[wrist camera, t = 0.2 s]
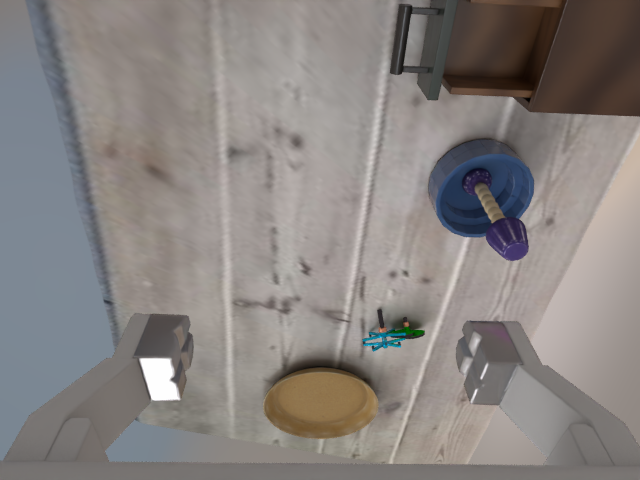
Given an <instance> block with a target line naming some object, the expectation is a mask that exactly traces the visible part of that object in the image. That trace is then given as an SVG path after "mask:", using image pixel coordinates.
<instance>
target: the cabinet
mask: <svg viewBox="0 0 640 480" xmlns="http://www.w3.org/2000/svg"><path fill="white" fill-rule="evenodd" d="M513 98H514V99H515V100H517V101H518V102H519V103H520V104H521V105H522V106H523V107H525V108H526V109H527V110H528V111H529V112H543V113H568V114H592V115H617V116H640V0H563V2H562V5H561V8H560V12H559V15H558V18H557V21H556V24H555V27H554V30H553V33H552V36H551V39H550V42H549V45H548V48H547V51H546V54H545V57H544V60H543V63H542V66H541V69H540V73H539V76H538V79H537V82H536V85H535V88H534V91H533V94H532V97H531V98H530V97H513Z"/></svg>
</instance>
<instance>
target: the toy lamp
mask: <svg viewBox="0 0 640 480" xmlns="http://www.w3.org/2000/svg"><path fill="white" fill-rule="evenodd" d="M491 184H492V176H491V174H490V172H489V171H488V170H486V169H482V168H479V169H474V170H471V171H469V172H468V173H467V174H466V175H465V176H464V178H463V180H462V187H463V189H464V191H465V192H467V193H468V194H470V195H474V196H477V195H478V198H479V200H480V201H481V204H482V206H483V207H484V209H485V212H486V213H487V214H488V217H489V219H490V220H491V223H492V224H491V225H490V226H489V228H488V229H487V232H486V240H487V242H488V243H489V245H490V246H491V247H492V248H493V249H494V250H495V251H497V252H498V253H499V254H500V255H501V256H502V257H503V258H505V259H506V260H510V261H515V260H519V259H521V258H523V257H524V256H525V255H526V254H527V252H528V247H529V246H528V239H527V233H526V228H525V225H524V223H523V222H522V221H521V220H519V219H517V218H514V217H505V216H504V215H503V213H502V211H501V210H500V209H499V206H498V204H497V203H496V202H495V199H494V197H493V196H492V194H491V192H490V191H489V189H490V187H491Z"/></svg>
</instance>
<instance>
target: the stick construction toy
mask: <svg viewBox="0 0 640 480" xmlns="http://www.w3.org/2000/svg"><path fill="white" fill-rule="evenodd" d="M377 311H378V318H379V324H380V327H379V333H375V332H369V338H365V339H362V340H363V346H372V345H378V346H377V347H375V348H374V346H372V350H373V351H376V350H378V349H379V348H381V347H383V348H387V347H388V346H393V347H399V348H400V347H401V344H400V342H398V341H402V340H405V339H414V338H419V337H422V336H423V335H425V331H424V330H411V329H409V323H408V322H407V317H404V318H403V319H404V322H403V325H404V329H400V330H396V331H395V328H393V329H391V330H389V331H387V329H386V327H384V322H383V315H382V310H381V309H379V310H377ZM371 335H376V336H373V337H372V336H371ZM389 336H391V337H393V338H399V339H395V340H390V341H387V339H386V337H389ZM377 338H382V342H376V343H365V341H368V340H372V339H377ZM394 342H398V344H394Z"/></svg>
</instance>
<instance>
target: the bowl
mask: <svg viewBox="0 0 640 480" xmlns="http://www.w3.org/2000/svg"><path fill="white" fill-rule="evenodd" d="M479 168H482V169H486V170H488V171H489V172H490V174H491V176H492V184H491V187H490V189H489V191H490V192H491V194H492V196H493V197H494V199H495V202H496V203H497V204H498V206H499V209H500V210H501V211H502V213H503V215H504V216H505V217H514V218H517V219H519V218H520V217H521V216H522V215H523V213H524V212H525V211H526V209H527V208H528V207H529V204H530V202H531V199H532V197H533V194H534V179H533V177H532V174H531V172H530V169H529V168H528V167H527V165H526V164H525V163H524V162H523V161H522V160H521V159H520V158H519V156H518V155H517V154H516V153H515V152H514V151H513V150H512V149H511V148H509V147H508V146H507V145H506V144H503V143H500V142H498V141H495V140H484V139H479V140H474V141H470V142H466V143H464V144H461V145H459V146H457V147H456V148H454V149H452V150H450V151H449V152H448V153H447V154H446V155H445V156H444V157H443V158H442V159H440V160H439V161H438V163H437V165H436V166H435V168H434V170H433V172H432V173H431V176H430V181H429V186H428V189H429V196H430V200H431V203H432V205H433V207H434V210H435V212H436V214H437V216H438V218H439V220H440V221H441V223H442V225H443V226H444V227H446V228H447V229H448V230H450V231H451V232H452V233H454V234H457V235H461V236H464V237H484V236H486V232H487V229H488V228H489V226H490V225H491V224H492V223H491V220H490V219H489V217H488V214H487V213H486V212H485V209H484V207H483V206H482V204H481V201H480V200H479V198H478V195H477V196H474V195H470V194H468V193H467V192H465V191H464V189H463V187H462V180H463V178H464V176H465V175H466V174H467V173H468V172H469V171H471V170H474V169H479Z"/></svg>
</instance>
